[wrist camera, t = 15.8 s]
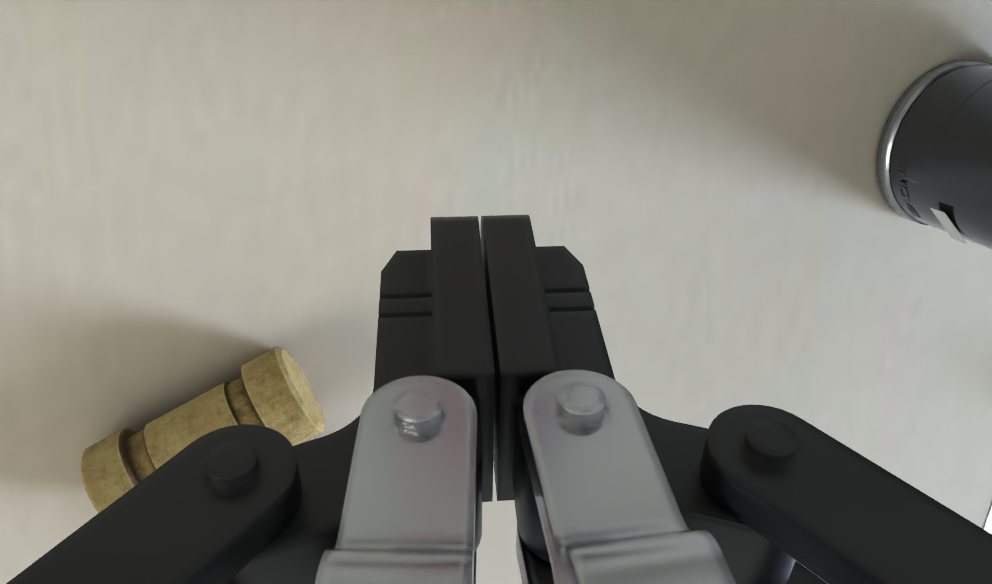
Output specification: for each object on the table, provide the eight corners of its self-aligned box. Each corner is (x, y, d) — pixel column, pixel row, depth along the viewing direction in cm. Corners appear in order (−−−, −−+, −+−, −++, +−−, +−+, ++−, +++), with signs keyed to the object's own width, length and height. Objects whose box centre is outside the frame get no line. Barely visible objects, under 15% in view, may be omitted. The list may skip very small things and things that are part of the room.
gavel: (467, 642, 46) (310, 735, 45) (446, 584, 50) (300, 669, 49) (284, 376, 35) (72, 491, 34) (274, 328, 39) (83, 430, 38)
